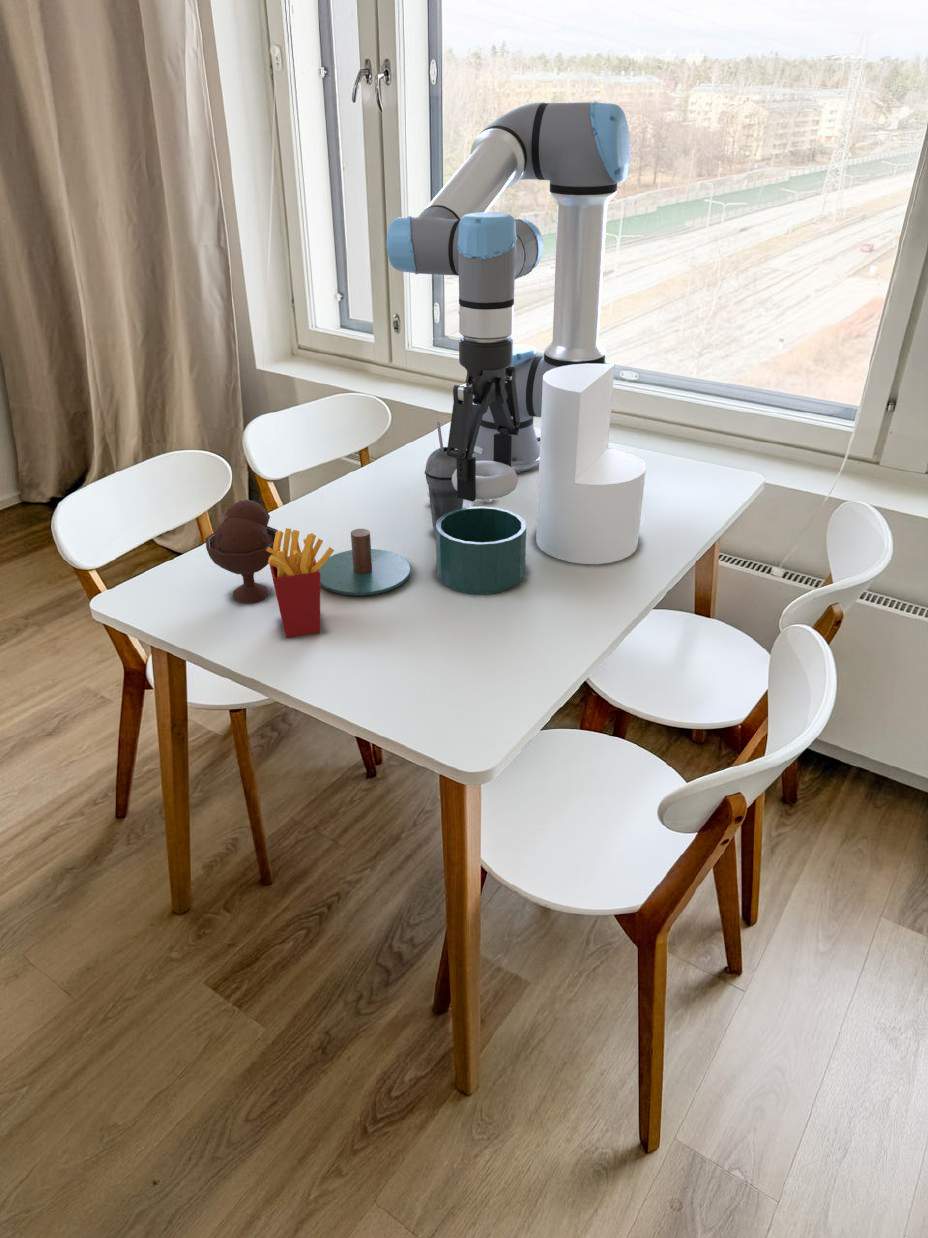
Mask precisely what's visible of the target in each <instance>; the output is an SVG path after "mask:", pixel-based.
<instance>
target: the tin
mask: <svg viewBox="0 0 928 1238" xmlns="http://www.w3.org/2000/svg"><path fill="white" fill-rule="evenodd" d="M526 549H527V522H526V520H525V519H524V518H523V517H522V516H521V515H520V514H517V513H515V512H514V511H511V510H508V509H505V508H500V507H496V506H480V505H479V506H474V507H466V508H461V509H457V510H453V511H451V512H448V513H446V514H444V515H442V516H441V517H440V518H439V519H438V520H437V521H436V536H435V555H436V556H435V565H436V567H435V568H436V576H437V579H438V580H439V582H440V583H441V584H442V585H444V587H447V588H449V589H450V590H453V591H456V592H461V593H465V594H470V595H471V594H472V595H491V594H497V593H498V594H499V593H502V592H505V591H509V590H511V589H513V588H515V587H516V586H518V585H520V583H522V581H523V580H524V577H525V573H526V551H527V550H526Z"/></svg>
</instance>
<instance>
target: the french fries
mask: <svg viewBox="0 0 928 1238" xmlns="http://www.w3.org/2000/svg"><path fill="white" fill-rule="evenodd" d="M283 537H284V538H283ZM299 538H300V530H297V529H292V528H288V527H286V528H285V530H284V532H283V531H282V530H278V531H276V535H275V539H274V545H273V549H271V548H270V547H268V548H267V550H266V551H268V552H270V553H272V554H273V555H271V556H270V557H269V560H268V565H269V570H270V573H271V577H272V583H273V586H274V587H273V588H274V591H275V595H276V601H277V605H278V609H279V613H280V617H281V622H282V626H283V631H284V635H285V638H293V637H299V636H306V635H313V634H320V633H321V585H320V572H319V568H320V567H321V566H322V565H323V564H324V563H325V562H326V561H327V560H328V558H329V557H330V556H332V554H333V553H334V552H335V550H334V549H333V548H331V546H330V547H328V549H327V550H326V551H325V553H324V554H323V555H322V556H321V557H320V559H318V560H316V556H317V554H318V552H319V550H320V549H321V546H322V544H323V542H324V540H323V539H321V538H318V539H317V540H316V538H317V535H316V534H314V533H313V532H311V533H309V534H307V535H306V538H304V539H302V540H303V544H304V546H303V548H302V549H303V550H301V547H300V543H299ZM282 541H283V544H282ZM281 547H282V550H281Z"/></svg>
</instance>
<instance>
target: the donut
mask: <svg viewBox="0 0 928 1238" xmlns="http://www.w3.org/2000/svg"><path fill="white" fill-rule="evenodd" d="M517 474H518V473H516V472H515V470H514V469H512V468H511V467H510V466H508V465H506V464H503V463H500V462H495V461H476V499H477V500H482V499H492V500H494V499H500V498H503V497H506V496H508V495H510V494H511V493H512V492H513V491H515V490H516V488H517V486H518V482H519V477H518V475H517ZM452 483H453V486H454V488H455V490H457V469H456V470H455V472H454V474H453V476H452Z"/></svg>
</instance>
